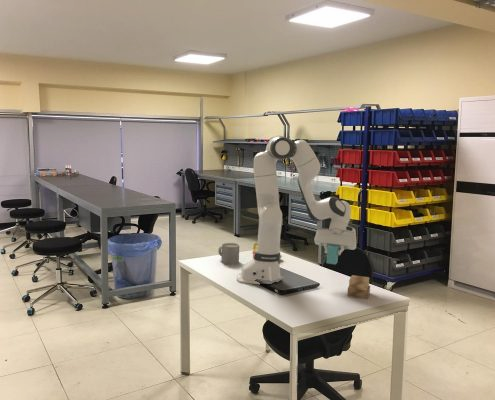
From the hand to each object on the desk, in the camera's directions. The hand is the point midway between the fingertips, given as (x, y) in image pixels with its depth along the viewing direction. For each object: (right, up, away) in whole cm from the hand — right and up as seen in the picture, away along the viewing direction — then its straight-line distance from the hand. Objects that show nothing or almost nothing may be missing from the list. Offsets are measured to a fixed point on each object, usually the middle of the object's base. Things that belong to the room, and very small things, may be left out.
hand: (332, 253), depth 219 cm
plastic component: (-30, -9, +53) cm, 61 cm away
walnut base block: (+11, -18, -7) cm, 22 cm away
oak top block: (+11, -15, -8) cm, 20 cm away
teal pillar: (0, -5, +1) cm, 5 cm away
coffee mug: (-52, -10, +42) cm, 67 cm away
